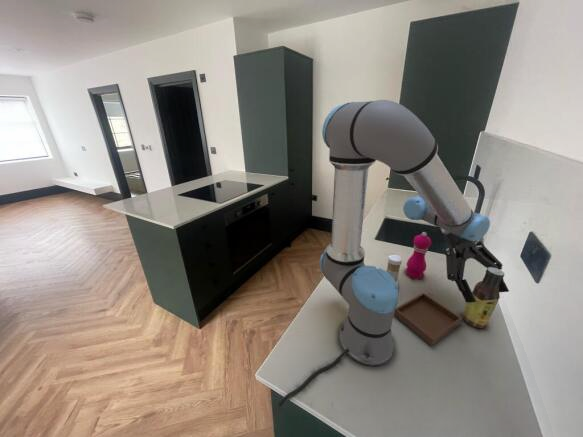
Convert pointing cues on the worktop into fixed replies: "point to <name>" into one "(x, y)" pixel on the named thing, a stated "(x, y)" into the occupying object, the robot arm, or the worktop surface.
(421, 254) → the pepper mill
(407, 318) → the serving tray
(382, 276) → the robot arm
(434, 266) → the worktop surface
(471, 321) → the sauce bottle
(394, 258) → the sprinkles bottle
